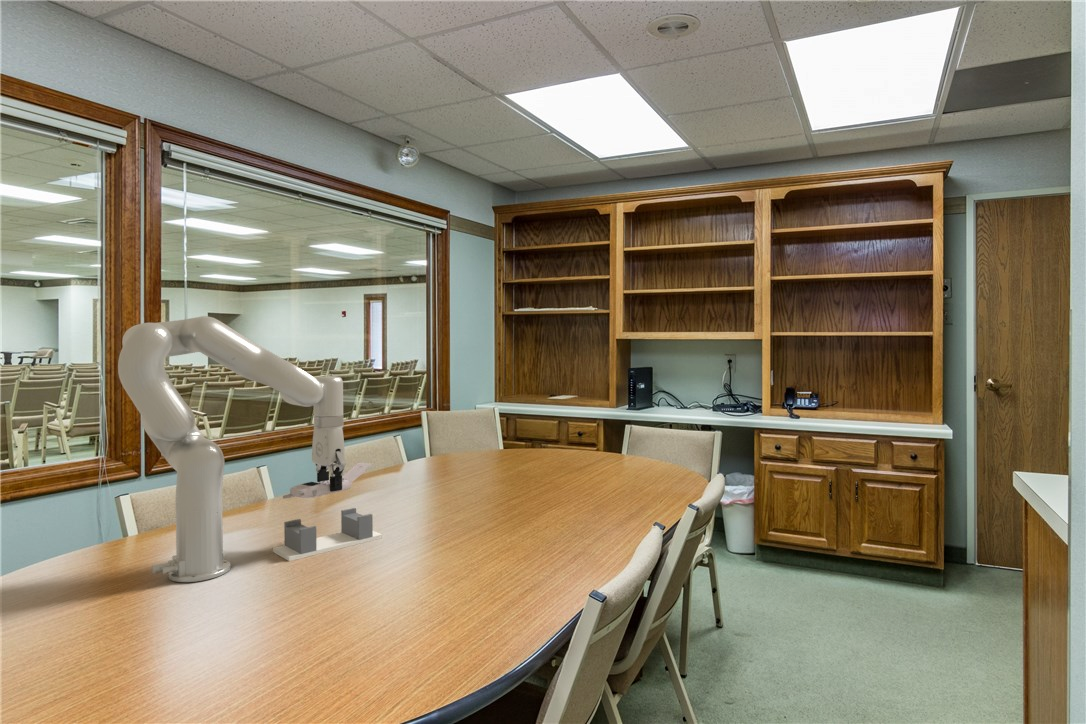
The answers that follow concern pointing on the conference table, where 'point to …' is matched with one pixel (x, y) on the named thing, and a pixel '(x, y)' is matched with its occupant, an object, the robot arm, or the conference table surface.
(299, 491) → the mobile phone
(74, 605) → the conference table surface
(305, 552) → the cradle stand
